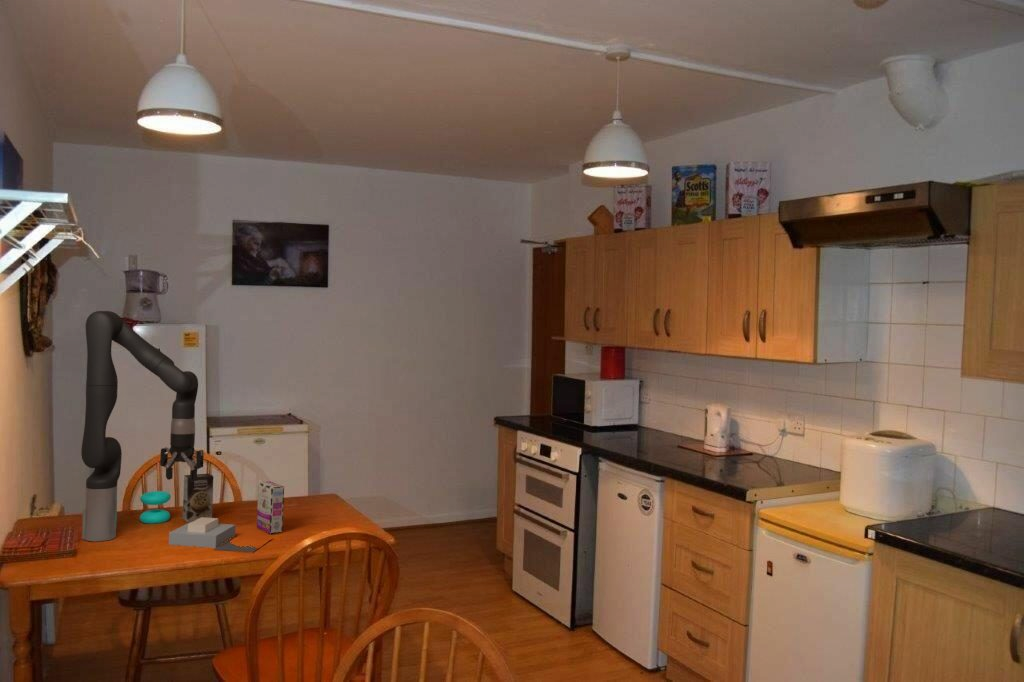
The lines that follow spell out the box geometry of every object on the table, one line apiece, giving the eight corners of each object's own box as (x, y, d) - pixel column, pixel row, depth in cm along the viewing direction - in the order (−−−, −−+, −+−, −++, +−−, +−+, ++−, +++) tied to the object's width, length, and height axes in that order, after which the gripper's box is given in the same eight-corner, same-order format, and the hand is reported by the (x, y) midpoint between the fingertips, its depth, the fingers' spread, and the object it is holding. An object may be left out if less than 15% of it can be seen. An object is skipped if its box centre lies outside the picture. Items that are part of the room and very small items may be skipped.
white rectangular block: (187, 531, 260) (187, 524, 260) (201, 524, 269) (201, 517, 269) (205, 532, 259) (205, 525, 259) (218, 525, 268) (218, 518, 268)
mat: (214, 550, 254) (214, 549, 254) (236, 536, 270) (236, 535, 270) (252, 552, 253) (253, 551, 253) (273, 539, 269) (273, 538, 269)
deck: (168, 544, 258) (169, 532, 258) (190, 533, 272) (190, 521, 272) (215, 548, 256) (215, 535, 256) (235, 536, 270) (235, 524, 270)
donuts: (166, 496, 282) (136, 496, 280) (165, 524, 282) (136, 524, 280) (173, 490, 291) (145, 490, 290) (173, 517, 292) (144, 517, 290)
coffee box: (186, 522, 285) (187, 478, 285) (182, 518, 291) (183, 474, 290) (212, 519, 291) (213, 475, 290) (207, 515, 296) (208, 472, 295)
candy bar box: (283, 532, 277) (285, 486, 276) (270, 535, 274) (271, 487, 273) (269, 525, 285) (270, 480, 285) (256, 527, 282) (257, 482, 281)
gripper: (156, 431, 261) (154, 481, 261) (197, 434, 259) (195, 483, 260) (168, 428, 268) (167, 476, 269) (208, 431, 267) (207, 479, 267)
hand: (181, 480), depth 264 cm, fingers open, 7 cm apart
